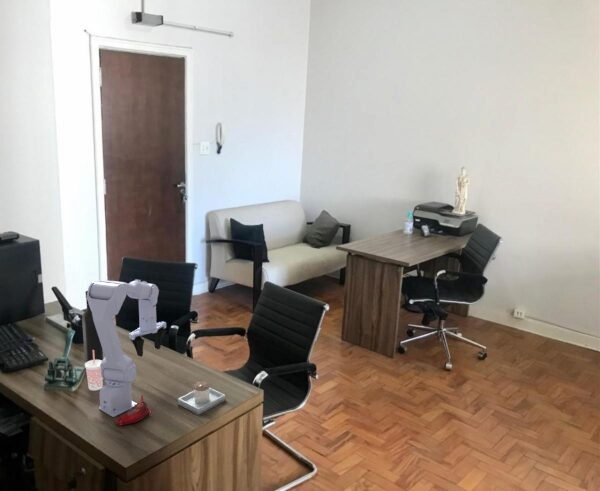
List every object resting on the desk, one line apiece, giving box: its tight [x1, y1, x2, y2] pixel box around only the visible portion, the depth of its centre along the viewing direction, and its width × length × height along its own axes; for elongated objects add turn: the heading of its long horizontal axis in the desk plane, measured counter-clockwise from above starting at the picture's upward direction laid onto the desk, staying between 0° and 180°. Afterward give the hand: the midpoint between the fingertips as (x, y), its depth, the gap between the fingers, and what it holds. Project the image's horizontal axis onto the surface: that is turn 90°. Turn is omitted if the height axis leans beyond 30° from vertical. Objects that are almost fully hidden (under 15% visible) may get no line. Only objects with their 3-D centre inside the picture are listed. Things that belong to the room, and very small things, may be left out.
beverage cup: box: [84, 350, 104, 391], centre depth 188 cm, size 6×6×14 cm
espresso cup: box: [193, 381, 211, 404], centre depth 182 cm, size 5×5×6 cm
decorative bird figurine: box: [115, 395, 154, 426], centre depth 174 cm, size 3×18×10 cm
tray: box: [177, 387, 226, 416], centre depth 182 cm, size 12×10×2 cm
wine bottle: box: [81, 290, 104, 364], centre depth 199 cm, size 6×6×30 cm
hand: (148, 352), depth 194 cm, fingers open, 7 cm apart
